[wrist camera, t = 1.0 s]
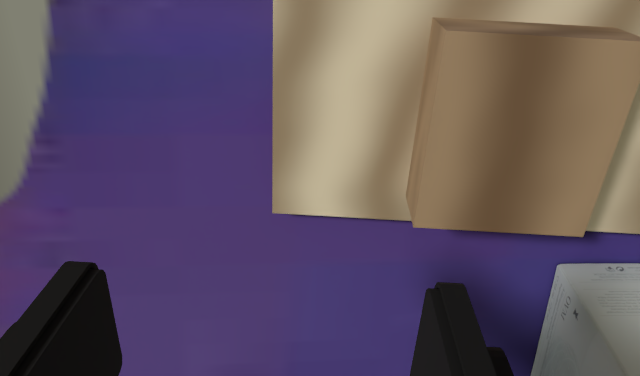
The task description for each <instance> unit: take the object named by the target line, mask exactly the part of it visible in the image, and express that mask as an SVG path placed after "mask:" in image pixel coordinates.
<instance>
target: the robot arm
mask: <svg viewBox="0 0 640 376" xmlns="http://www.w3.org/2000/svg"><path fill="white" fill-rule="evenodd" d="M121 366H122V353H121V348H120V343H119V338H118V333H117V328H116V323H115V318H114V313H113V308H112V303H111V298H110V293H109V288H108V283H107V278H106V274H105V272H104V270H99V269H98V266H97V265H96V264H95V263H91V262H74V261H68V262H65V263H64V264H63V265H62V266H61V267H60V269H59V270H58V271H57V272H56V274H55V275H54V276H53V277H52V279H51V280H50V281H49V282H48V284H47V285H46V286H45V287H44V289H43V290H42V291H41V292H40V294H39V295H38V296H37V297H36V299H35V300H34V301H33V302H32V304H31V305H30V306H29V307H28V309H27V310H26V311H25V312H24V314H23V315H22V316H21V317H20V319H19V320H18V321H17V322H15V323H14V324H13V325H12V326H11V327H10V328H9V329H8V330H7V331H6V332H5V334H4V335H3V336H2V337H1V339H0V376H118V375H119V373H120V370H121ZM410 376H514V375H513V372H512V370H511V367H510V365H509V362H508V360H507V357H506V355H505V353H504V351H503V350H502V349H501V348H498V347H486V344H485V341H484V338H483V336H482V333H481V330H480V327H479V324H478V321H477V319H476V316H475V313H474V310H473V307H472V305H471V302H470V299H469V296H468V293H467V290H466V288H465V286H464V285H463V284H460V283H442V282H438V283H436V285H435V288H434V289H430V288H428V289H427V290H426V294H425V299H424V304H423V309H422V315H421V320H420V325H419V330H418V335H417V340H416V346H415V351H414V356H413V361H412V366H411V372H410Z"/></svg>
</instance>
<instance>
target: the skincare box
mask: <svg viewBox="0 0 640 376" xmlns="http://www.w3.org/2000/svg"><path fill="white" fill-rule="evenodd" d="M531 376H640V263H614V264H612V263H602V264H592V263H584V264H559V265H557V268H556V273H555V277H554V281H553V285H552V289H551V293H550V298H549V302H548V306H547V310H546V314H545V318H544V322H543V326H542V331H541V335H540V339H539V343H538V347H537V352H536V356H535V360H534V364H533V368H532V372H531Z"/></svg>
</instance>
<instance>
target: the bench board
mask: <svg viewBox="0 0 640 376" xmlns="http://www.w3.org/2000/svg"><path fill="white" fill-rule="evenodd" d="M433 17H437V18H455V19H472V20H490V21H508V22H526V23H544V24H562V25H580V26H598V27H615V28H618V29H621V30H623V31H626V32H629V33H631V34H634V35H637V36H639V37H640V0H273V213H281V214H299V215H316V216H334V217H351V218H369V219H386V220H404V221H412V219H411V215H410V211H409V208H408V204H407V200H406V190H407V184H408V177H409V171H410V164H411V157H412V151H413V144H414V137H415V131H416V124H417V117H418V111H419V104H420V98H421V91H422V84H423V78H424V71H425V64H426V58H427V51H428V45H429V38H430V31H431V25H432V18H433ZM586 231H597V232H614V233H632V234H640V83H639V85H638V88H637V91H636V94H635V96H634V99H633V102H632V105H631V107H630V110H629V113H628V116H627V118H626V121H625V124H624V127H623V129H622V132H621V135H620V138H619V140H618V143H617V146H616V149H615V151H614V154H613V157H612V159H611V162H610V165H609V168H608V170H607V173H606V176H605V179H604V181H603V184H602V187H601V190H600V192H599V195H598V198H597V201H596V203H595V206H594V209H593V212H592V214H591V217H590V220H589V223H588V225H587V228H586Z"/></svg>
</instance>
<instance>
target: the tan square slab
mask: <svg viewBox="0 0 640 376" xmlns="http://www.w3.org/2000/svg"><path fill="white" fill-rule="evenodd" d="M639 83H640V37H639V36H637V35H634V34H631V33H629V32H626V31H623V30H621V29H618V28H615V27H598V26H580V25H562V24H544V23H526V22H508V21H490V20H472V19H455V18H437V17H433V18H432V25H431V31H430V38H429V45H428V51H427V58H426V64H425V71H424V78H423V84H422V91H421V98H420V104H419V111H418V117H417V124H416V131H415V137H414V144H413V151H412V157H411V164H410V171H409V177H408V184H407V190H406V200H407V204H408V208H409V211H410V215H411V219H412V223H413V227H417V228H435V229H452V230H470V231H487V232H505V233H522V234H540V235H557V236H575V237H583V236H584V234H585V231H586V228H587V225H588V223H589V220H590V217H591V214H592V212H593V209H594V206H595V203H596V201H597V198H598V195H599V192H600V190H601V187H602V184H603V181H604V179H605V176H606V173H607V170H608V168H609V165H610V162H611V159H612V157H613V154H614V151H615V149H616V146H617V143H618V140H619V138H620V135H621V132H622V129H623V127H624V124H625V121H626V118H627V116H628V113H629V110H630V107H631V105H632V102H633V99H634V96H635V94H636V91H637V88H638V85H639Z"/></svg>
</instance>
